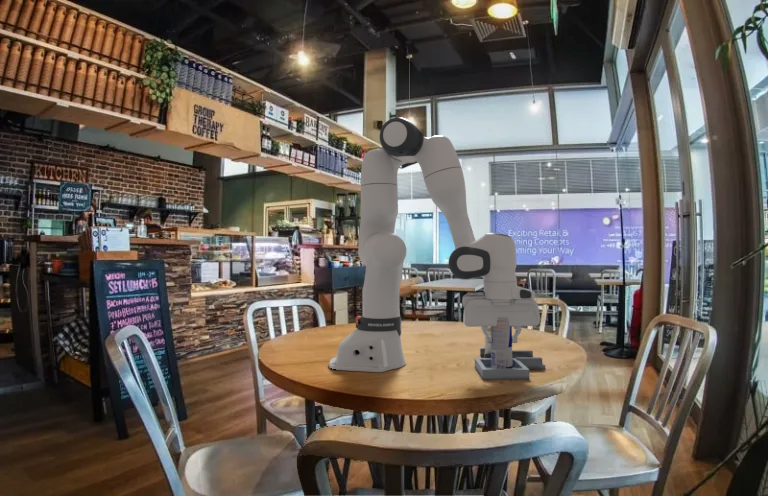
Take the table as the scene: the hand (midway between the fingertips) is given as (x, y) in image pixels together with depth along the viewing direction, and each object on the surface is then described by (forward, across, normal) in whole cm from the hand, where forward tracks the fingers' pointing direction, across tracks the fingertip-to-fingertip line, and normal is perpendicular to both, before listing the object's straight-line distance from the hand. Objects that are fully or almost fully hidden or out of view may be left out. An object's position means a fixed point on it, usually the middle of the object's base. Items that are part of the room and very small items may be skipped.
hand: (501, 342), depth 117 cm
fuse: (+8, +1, +16) cm, 18 cm away
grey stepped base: (+8, +9, +9) cm, 15 cm away
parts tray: (+8, 0, 0) cm, 8 cm away
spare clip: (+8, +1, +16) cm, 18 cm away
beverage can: (+8, 0, 0) cm, 8 cm away
